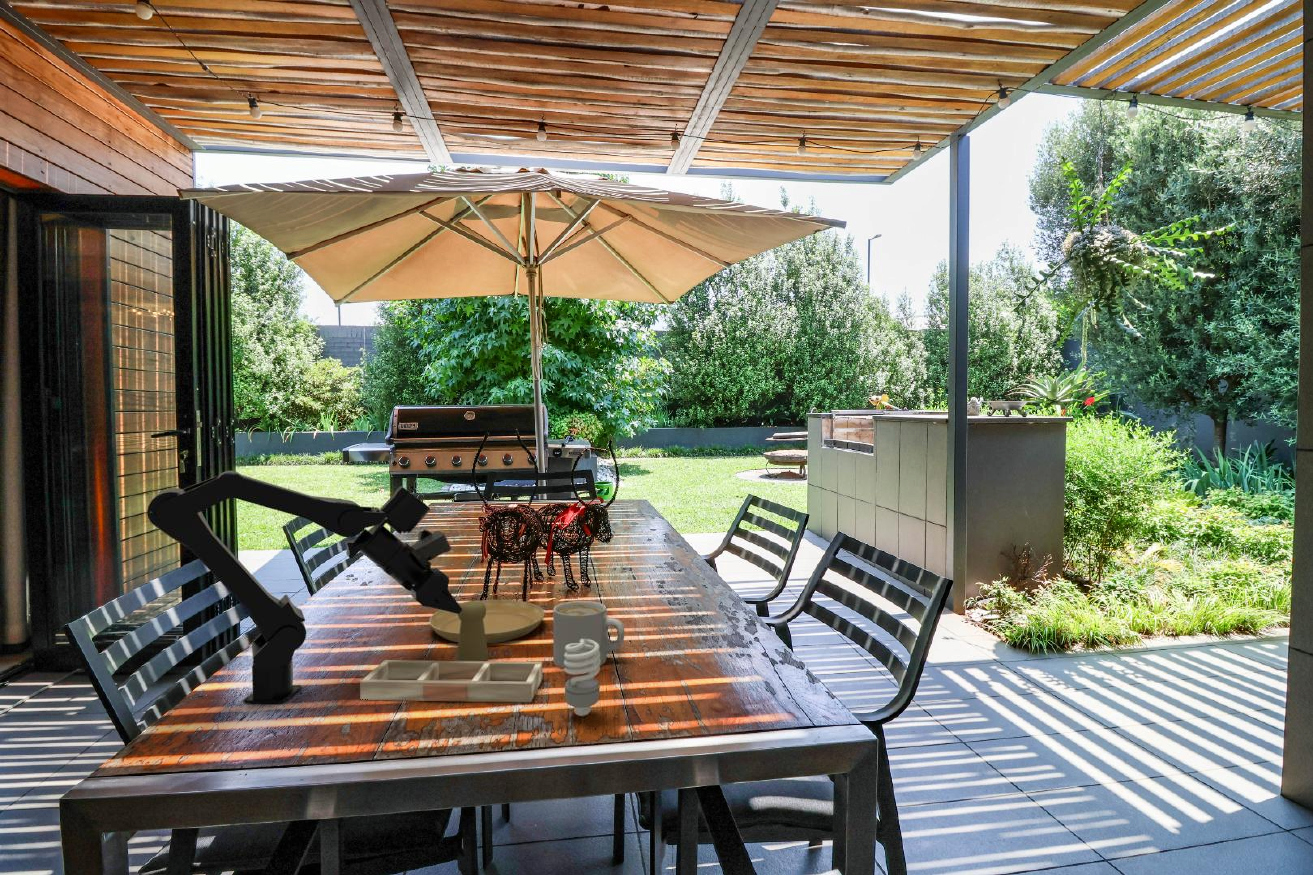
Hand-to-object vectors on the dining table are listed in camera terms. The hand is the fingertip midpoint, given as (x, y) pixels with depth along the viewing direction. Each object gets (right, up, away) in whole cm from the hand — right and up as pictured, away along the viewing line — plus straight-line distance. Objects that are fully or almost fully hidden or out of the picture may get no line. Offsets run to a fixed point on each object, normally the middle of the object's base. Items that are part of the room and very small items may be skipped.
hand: (453, 605), depth 133 cm
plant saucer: (+1, -11, +21) cm, 24 cm away
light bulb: (+26, -12, -22) cm, 37 cm away
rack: (+4, -11, -12) cm, 17 cm away
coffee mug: (+25, -11, +2) cm, 27 cm away
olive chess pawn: (+3, -11, +2) cm, 12 cm away
